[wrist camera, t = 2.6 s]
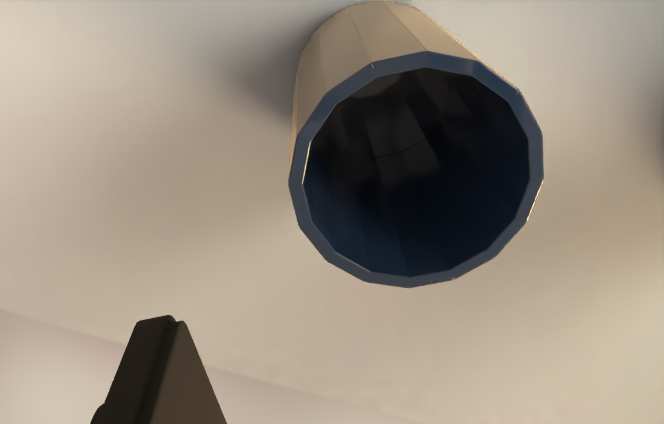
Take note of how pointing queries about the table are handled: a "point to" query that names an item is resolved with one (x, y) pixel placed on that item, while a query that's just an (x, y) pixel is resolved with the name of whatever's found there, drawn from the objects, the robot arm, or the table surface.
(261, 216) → the table surface
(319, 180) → the cup
